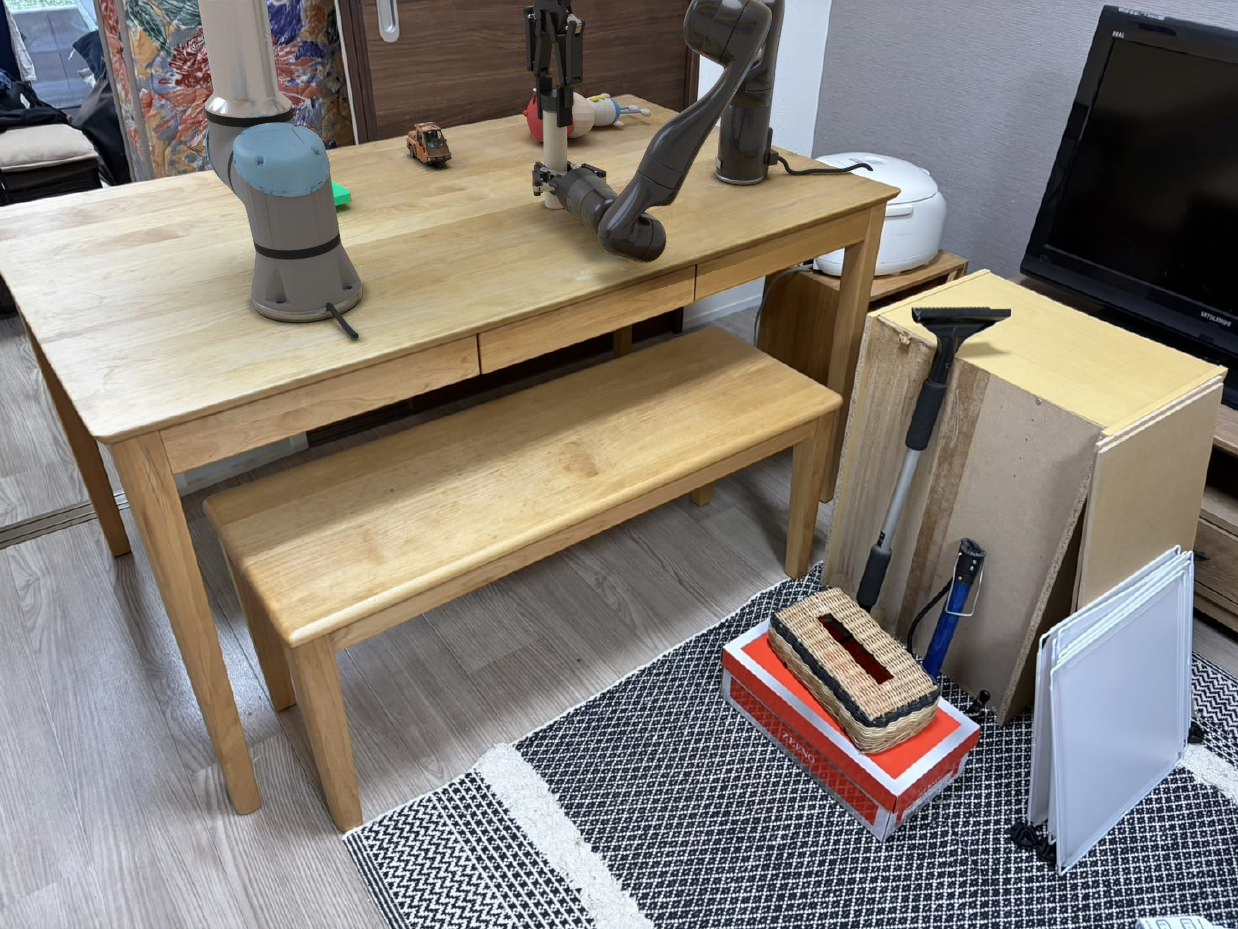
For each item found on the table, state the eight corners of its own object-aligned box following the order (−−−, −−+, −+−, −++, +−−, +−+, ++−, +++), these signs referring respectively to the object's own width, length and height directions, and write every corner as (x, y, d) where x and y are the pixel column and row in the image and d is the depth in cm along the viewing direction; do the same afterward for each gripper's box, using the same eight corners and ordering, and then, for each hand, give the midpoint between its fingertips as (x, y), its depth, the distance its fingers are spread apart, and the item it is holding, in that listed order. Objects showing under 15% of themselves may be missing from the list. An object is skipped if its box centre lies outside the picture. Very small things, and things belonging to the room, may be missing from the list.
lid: (563, 112, 154) (563, 98, 152) (537, 109, 155) (536, 95, 153) (571, 105, 157) (571, 91, 156) (546, 102, 158) (545, 88, 157)
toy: (670, 94, 197) (547, 94, 182) (666, 143, 201) (545, 148, 186) (623, 81, 210) (504, 81, 195) (620, 128, 215) (504, 131, 200)
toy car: (429, 148, 188) (425, 113, 184) (459, 164, 181) (457, 129, 177) (400, 154, 185) (396, 118, 181) (431, 171, 178) (427, 134, 173)
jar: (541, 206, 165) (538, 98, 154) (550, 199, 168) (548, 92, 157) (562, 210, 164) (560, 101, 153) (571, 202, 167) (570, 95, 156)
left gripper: (499, -38, 147) (506, 113, 161) (568, -21, 136) (569, 139, 150) (537, -42, 151) (541, 105, 165) (607, -25, 140) (605, 131, 154)
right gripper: (628, 170, 153) (586, 139, 165) (547, 181, 148) (510, 148, 160) (626, 214, 157) (586, 180, 169) (548, 226, 152) (512, 191, 164)
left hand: (554, 121), depth 158 cm, fingers open, 5 cm apart
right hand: (549, 165), depth 165 cm, fingers closed on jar, 4 cm apart
